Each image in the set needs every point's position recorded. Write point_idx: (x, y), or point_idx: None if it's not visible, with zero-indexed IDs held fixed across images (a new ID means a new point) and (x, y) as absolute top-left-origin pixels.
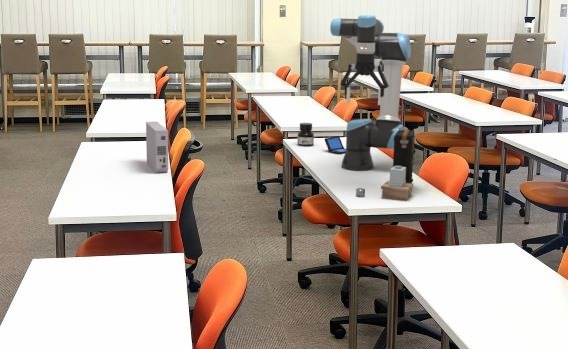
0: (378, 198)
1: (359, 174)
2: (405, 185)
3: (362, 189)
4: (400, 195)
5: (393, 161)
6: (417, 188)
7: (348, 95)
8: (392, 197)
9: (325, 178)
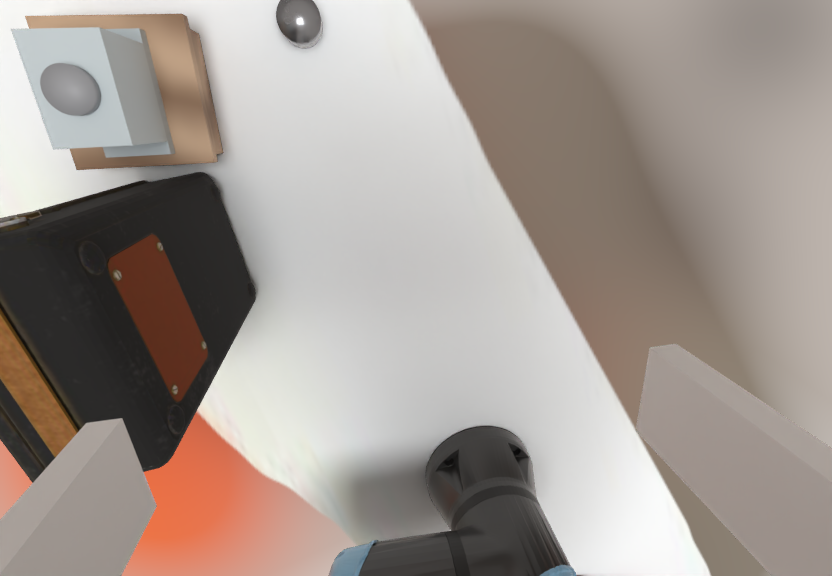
0: (210, 20)
1: (440, 388)
2: None
3: (288, 18)
4: None
5: (157, 198)
6: None
7: (762, 432)
8: None
9: (533, 272)
